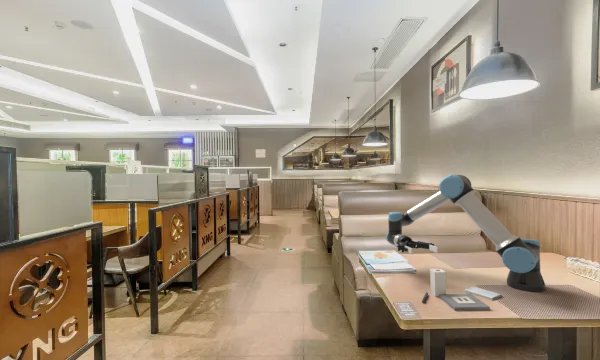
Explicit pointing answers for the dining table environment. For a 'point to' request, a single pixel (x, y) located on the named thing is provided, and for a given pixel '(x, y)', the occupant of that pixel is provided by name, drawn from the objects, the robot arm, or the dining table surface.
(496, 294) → the hard drive
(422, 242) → the robot arm
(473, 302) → the plate
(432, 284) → the charger brick
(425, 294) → the dark grey rod
